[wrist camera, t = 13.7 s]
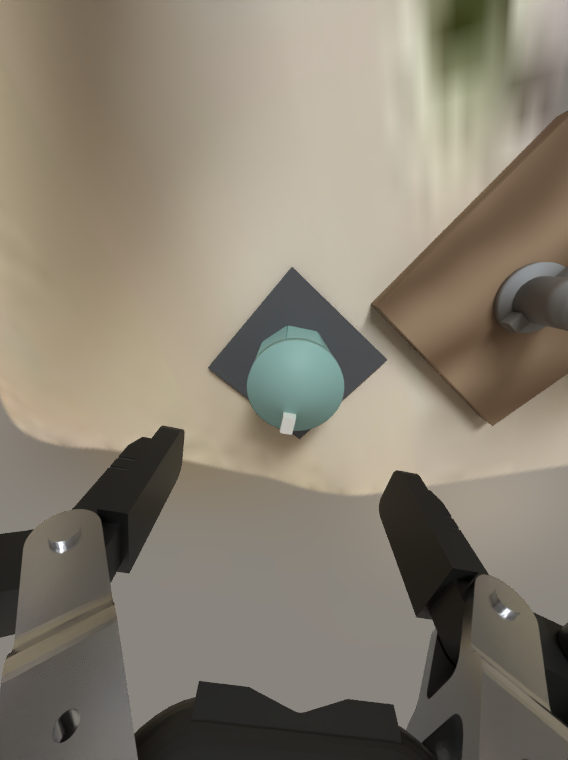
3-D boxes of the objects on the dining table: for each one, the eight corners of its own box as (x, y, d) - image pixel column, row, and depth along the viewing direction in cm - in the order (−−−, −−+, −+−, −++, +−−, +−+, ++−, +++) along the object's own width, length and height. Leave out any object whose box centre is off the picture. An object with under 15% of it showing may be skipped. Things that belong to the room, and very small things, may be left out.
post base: (371, 303, 20) (413, 323, 13) (556, 117, 16) (768, -3, 9) (480, 416, 23) (560, 480, 16) (658, 288, 19) (869, 300, 12)
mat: (209, 366, 22) (207, 368, 22) (292, 266, 19) (292, 266, 19) (299, 436, 24) (299, 439, 24) (385, 358, 21) (387, 359, 21)
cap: (263, 317, 20) (253, 335, 15) (341, 333, 20) (359, 356, 15) (251, 389, 22) (238, 426, 17) (322, 403, 23) (330, 443, 17)
